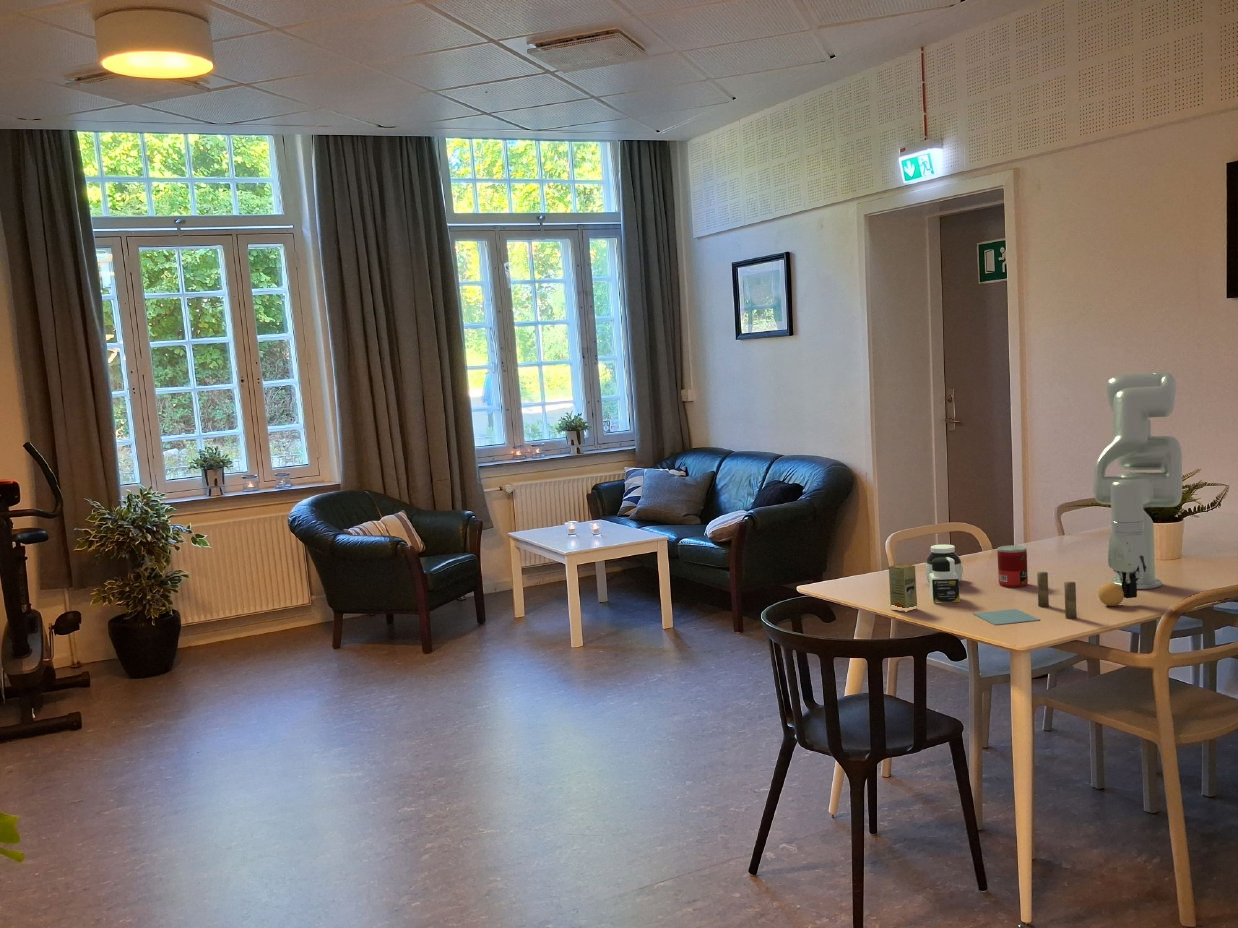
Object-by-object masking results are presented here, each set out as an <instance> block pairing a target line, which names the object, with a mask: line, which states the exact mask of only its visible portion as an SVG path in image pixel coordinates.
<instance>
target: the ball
mask: <svg viewBox="0 0 1238 928" xmlns="http://www.w3.org/2000/svg"><path fill="white" fill-rule="evenodd" d="M1098 598H1099V600H1100V602H1101V603H1102V604H1104V605H1106V606H1108V607H1117V606H1118V605H1119V604H1121V603H1122V602H1123V600H1124V599H1125V598H1124V592H1123V590H1122V588H1121V587H1120V586H1119V585H1117V584H1114V583H1111V582H1108V583H1105V584H1103V585H1102V586H1101V587H1100V588H1099V589H1098Z"/></svg>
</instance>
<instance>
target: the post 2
mask: <svg viewBox="0 0 1238 928" xmlns="http://www.w3.org/2000/svg"><path fill="white" fill-rule="evenodd" d="M1063 585H1064V611H1065V612H1064V615H1065V619H1067V620H1069V619H1070V620H1074V619H1075V620H1076V619H1077V618H1078V617H1077V616H1078V614H1077V590H1076V589H1077V587H1076V585H1077V583H1076V582H1075V581H1064V583H1063Z"/></svg>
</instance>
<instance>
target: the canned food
mask: <svg viewBox="0 0 1238 928" xmlns="http://www.w3.org/2000/svg"><path fill="white" fill-rule="evenodd" d="M997 571H998V573H997V574H998V576H997V577H998V585H999V586H1001V587H1005V588H1011V589H1015V588H1019V589H1020V588H1025V587H1027V586H1028V584H1029V579H1028V578H1029V577H1028V575H1029V574H1028V552H1027V547H1026V546H1023V545H1013V544H1012V545H1002V546H998V547H997Z"/></svg>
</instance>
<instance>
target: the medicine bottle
mask: <svg viewBox="0 0 1238 928" xmlns="http://www.w3.org/2000/svg"><path fill="white" fill-rule="evenodd" d="M929 581H930V583H929V597H930V596H931V597H930V599H931V598H932V599H931V601H932V600H933V601H932V603H933V602H959V603H960V601H961V598H960V583H959V578H958V576H957V575H956V573H955V562H954V559H952V558H949V557H938V558H935V559H933V560H932V573H930V574H929Z"/></svg>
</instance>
